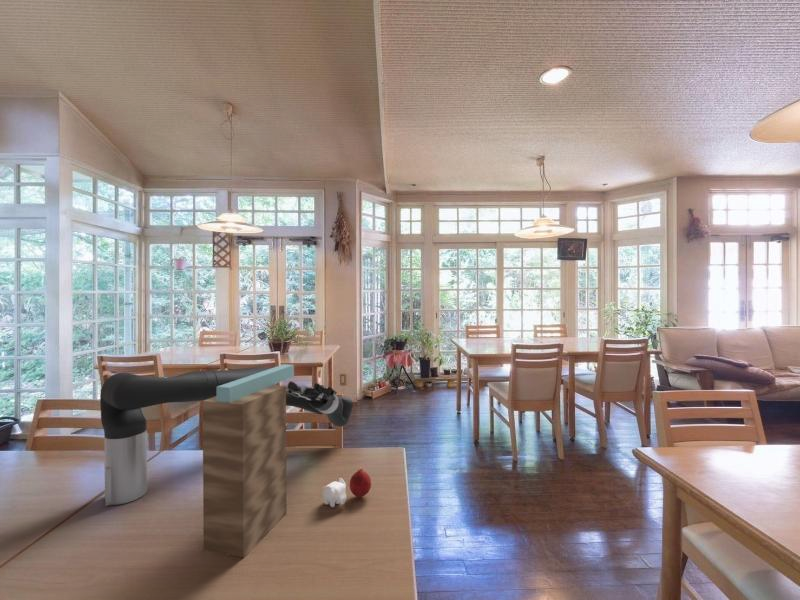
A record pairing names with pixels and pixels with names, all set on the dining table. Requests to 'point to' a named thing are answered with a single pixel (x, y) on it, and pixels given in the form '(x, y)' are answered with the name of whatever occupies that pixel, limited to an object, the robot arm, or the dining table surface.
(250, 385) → the rail
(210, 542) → the pedestal
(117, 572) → the dining table surface
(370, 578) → the dining table surface
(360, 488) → the onion
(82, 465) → the dining table surface
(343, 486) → the elephant figurine
